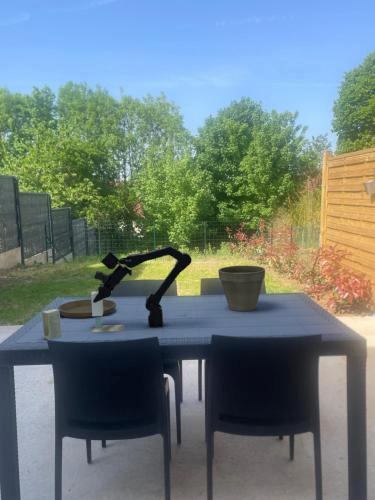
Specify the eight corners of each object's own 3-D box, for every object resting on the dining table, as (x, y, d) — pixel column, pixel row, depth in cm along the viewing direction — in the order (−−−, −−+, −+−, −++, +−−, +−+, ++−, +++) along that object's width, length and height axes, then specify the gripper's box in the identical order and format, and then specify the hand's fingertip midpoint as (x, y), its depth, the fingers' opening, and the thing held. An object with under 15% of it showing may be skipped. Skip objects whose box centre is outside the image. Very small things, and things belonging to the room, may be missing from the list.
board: (125, 325, 204) (125, 324, 204) (122, 332, 194) (122, 330, 194) (95, 326, 204) (95, 325, 204) (91, 333, 194) (91, 331, 194)
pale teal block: (101, 326, 202) (101, 318, 202) (101, 327, 200) (100, 319, 200) (96, 326, 202) (95, 318, 202) (95, 328, 200) (95, 319, 199)
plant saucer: (120, 316, 223) (120, 308, 222) (58, 323, 213) (58, 314, 213) (112, 304, 252) (112, 296, 252) (57, 309, 243) (57, 301, 242)
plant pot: (244, 316, 215) (243, 273, 212) (209, 308, 233) (208, 269, 231) (275, 307, 231) (274, 268, 229) (240, 301, 249) (240, 264, 247)
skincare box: (56, 335, 193) (54, 308, 192) (61, 336, 190) (60, 309, 189) (43, 338, 188) (41, 311, 187) (49, 340, 185) (47, 312, 184)
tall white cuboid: (103, 312, 203) (102, 291, 202) (102, 315, 198) (101, 293, 197) (93, 313, 203) (92, 291, 202) (92, 316, 197) (91, 293, 196)
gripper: (105, 262, 208) (83, 285, 208) (102, 267, 189) (78, 293, 189) (122, 277, 209) (101, 300, 209) (120, 284, 191) (97, 310, 191)
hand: (94, 300), depth 200 cm, fingers closed on tall white cuboid, 5 cm apart
